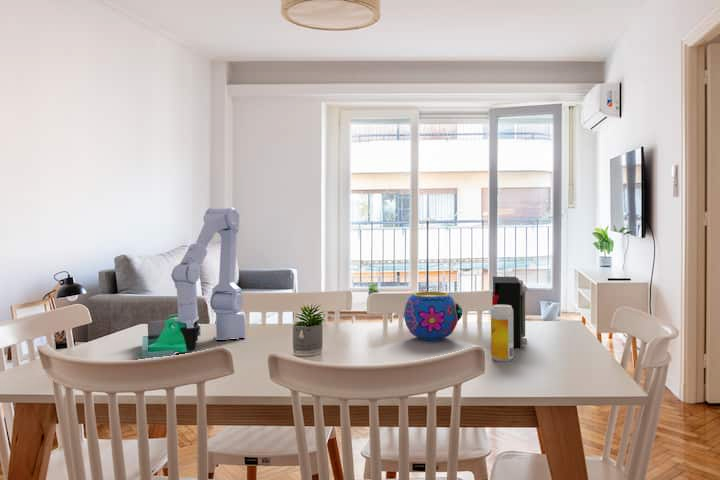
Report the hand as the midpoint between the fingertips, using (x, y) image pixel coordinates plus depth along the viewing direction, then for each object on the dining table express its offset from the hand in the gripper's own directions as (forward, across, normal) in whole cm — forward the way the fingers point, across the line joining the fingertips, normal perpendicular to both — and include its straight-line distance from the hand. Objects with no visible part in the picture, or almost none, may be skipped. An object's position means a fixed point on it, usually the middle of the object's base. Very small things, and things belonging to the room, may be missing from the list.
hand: (190, 347), depth 172 cm
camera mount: (+2, -1, -5) cm, 6 cm away
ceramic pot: (+4, +15, +75) cm, 76 cm away
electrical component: (+4, +29, +95) cm, 99 cm away
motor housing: (+1, -13, -4) cm, 14 cm away
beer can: (+3, +46, +80) cm, 93 cm away
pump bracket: (+1, 0, -9) cm, 9 cm away
